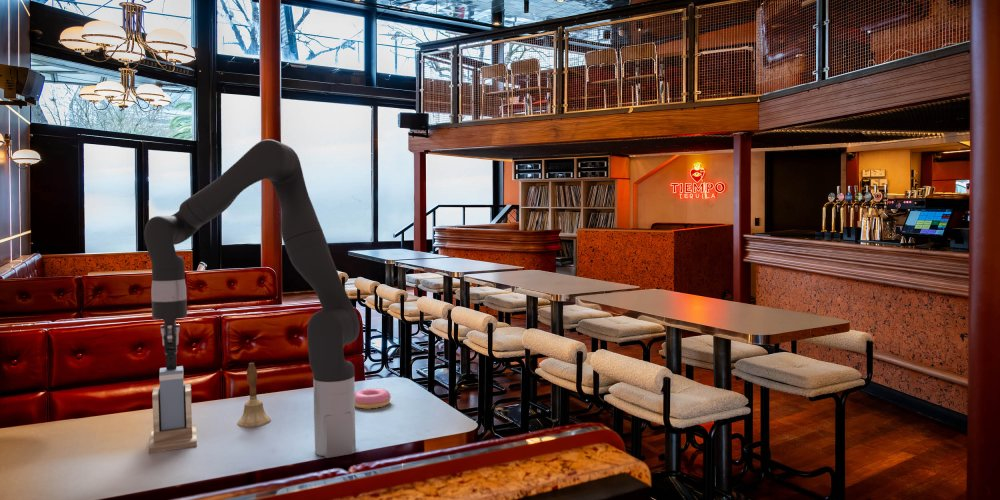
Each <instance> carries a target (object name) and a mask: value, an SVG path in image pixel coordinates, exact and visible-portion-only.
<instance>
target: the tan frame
mask: <svg viewBox="0 0 1000 500" xmlns="http://www.w3.org/2000/svg"><path fill="white" fill-rule="evenodd" d="M183 384H184V415H185V427H182V428H175V429H168V430H161V404H160V386H156V387H155V386H154V387H153V389H152V390H153V391H152V395H151V397H152V400H151V401H152V421H153V423H152V425H153V429H151V433H150V439H149V446H148V453H149V454H152V453H158V452H164V451H165V452H166V451H173V450H179V449H186V448H193V447H197V446H198V445H197V444H198V440H197V424H196V423H195V424H194V423H193V417H192V414H193V413H192V411H193V410H192V388H191V387H192V385H191V384H192V383H183Z"/></svg>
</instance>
